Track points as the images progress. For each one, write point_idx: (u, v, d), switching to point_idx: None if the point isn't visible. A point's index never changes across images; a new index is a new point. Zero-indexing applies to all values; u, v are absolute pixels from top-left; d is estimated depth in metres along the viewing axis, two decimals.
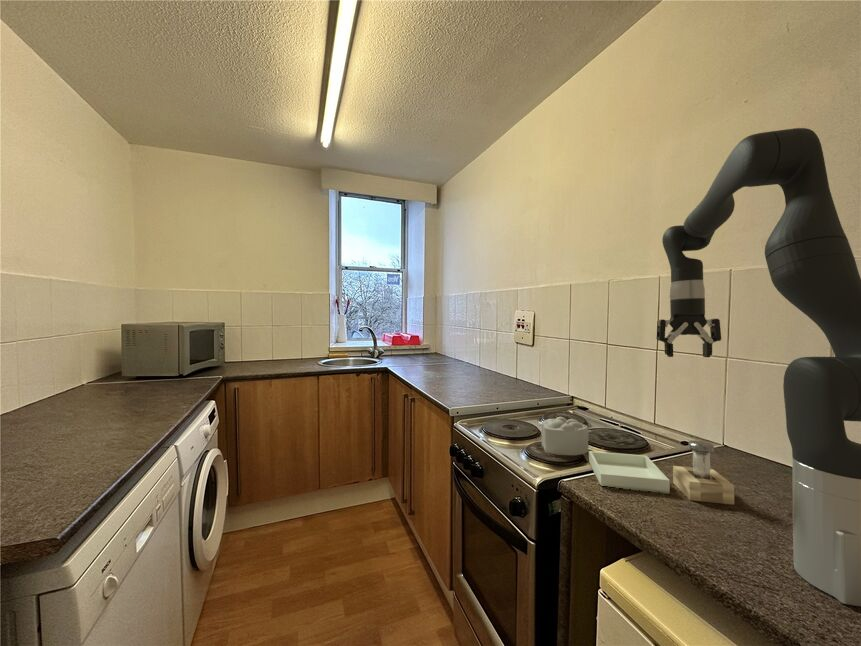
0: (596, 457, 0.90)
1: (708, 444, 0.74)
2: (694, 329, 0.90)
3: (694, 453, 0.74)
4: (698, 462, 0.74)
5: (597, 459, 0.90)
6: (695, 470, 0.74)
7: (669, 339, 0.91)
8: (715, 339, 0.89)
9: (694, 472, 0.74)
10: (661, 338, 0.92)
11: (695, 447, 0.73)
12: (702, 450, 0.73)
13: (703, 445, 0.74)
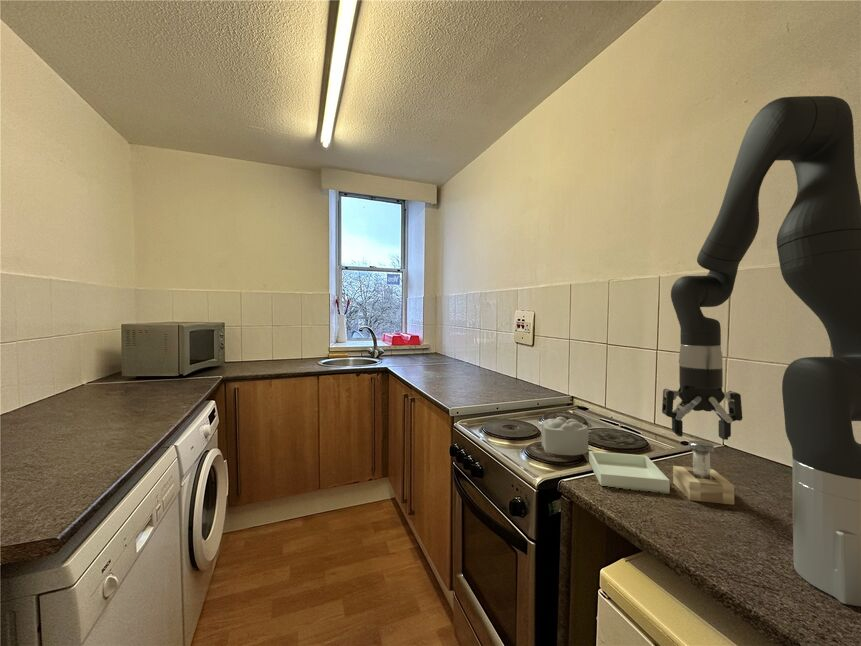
0: (596, 457, 0.90)
1: (708, 444, 0.74)
2: (709, 404, 0.73)
3: (694, 453, 0.74)
4: (698, 462, 0.74)
5: (597, 459, 0.90)
6: (695, 470, 0.74)
7: (678, 415, 0.75)
8: (735, 418, 0.72)
9: (695, 472, 0.74)
10: (668, 413, 0.75)
11: (695, 447, 0.73)
12: (702, 450, 0.73)
13: (703, 445, 0.74)
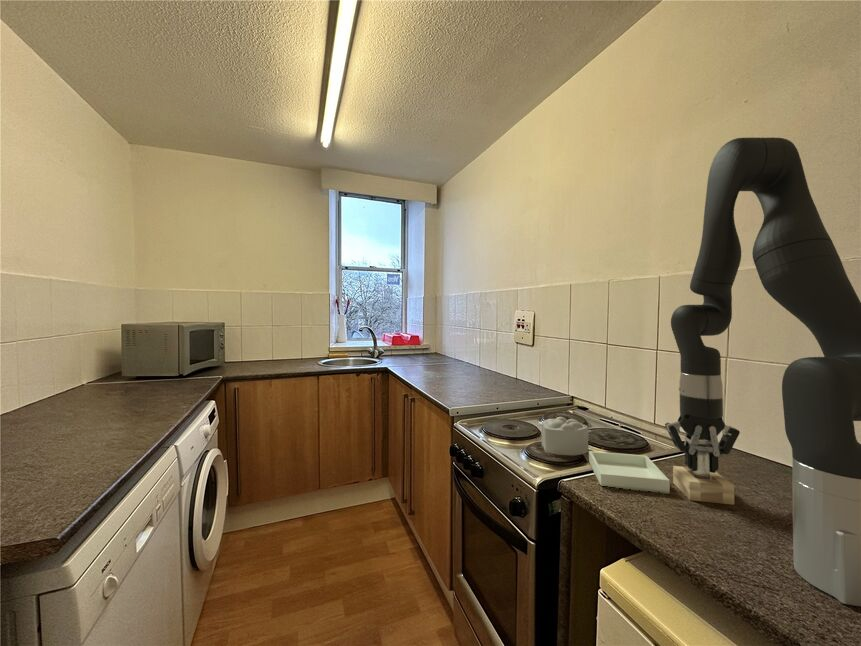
0: (596, 457, 0.90)
1: None
2: (706, 432, 0.73)
3: None
4: (698, 462, 0.74)
5: (597, 459, 0.90)
6: None
7: (691, 449, 0.74)
8: (722, 450, 0.73)
9: (694, 472, 0.74)
10: (681, 448, 0.74)
11: (695, 447, 0.73)
12: (702, 450, 0.73)
13: (703, 445, 0.74)
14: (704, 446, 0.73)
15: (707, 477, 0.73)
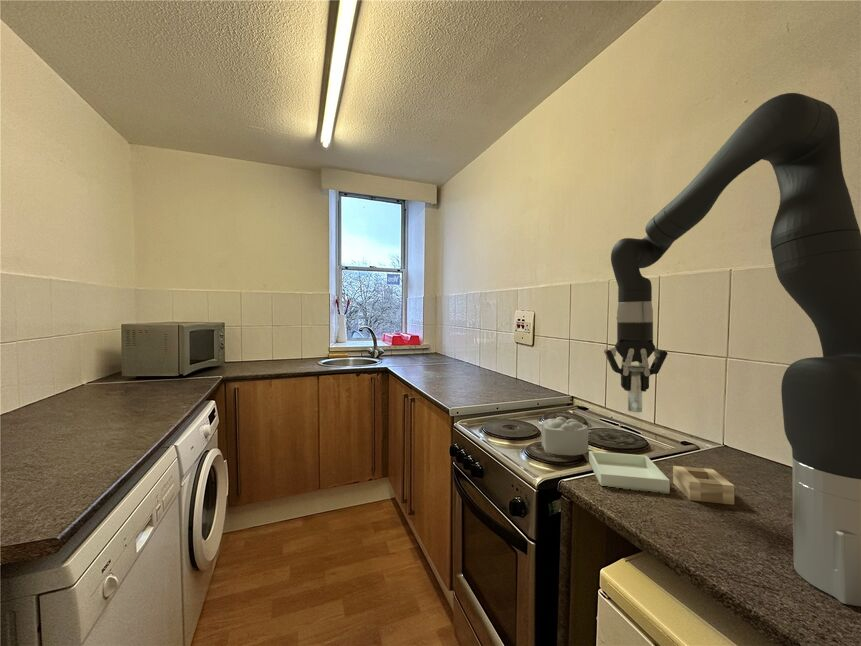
0: (596, 457, 0.90)
1: (641, 366, 0.82)
2: (638, 355, 0.81)
3: (628, 374, 0.82)
4: (631, 382, 0.81)
5: (597, 459, 0.90)
6: (629, 390, 0.82)
7: (625, 371, 0.81)
8: (652, 371, 0.80)
9: (628, 391, 0.82)
10: (616, 370, 0.82)
11: (628, 368, 0.81)
12: (634, 370, 0.80)
13: (635, 366, 0.81)
14: (636, 367, 0.80)
15: (638, 395, 0.80)
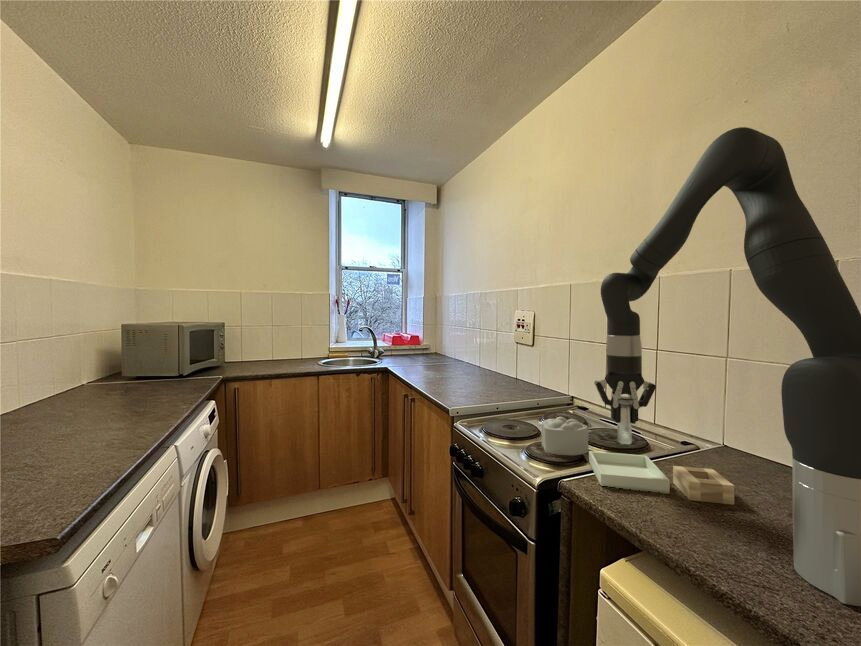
0: (596, 457, 0.90)
1: (630, 398, 0.83)
2: (627, 388, 0.82)
3: (618, 406, 0.83)
4: (621, 414, 0.82)
5: (597, 459, 0.90)
6: (619, 422, 0.83)
7: (615, 403, 0.82)
8: (641, 403, 0.81)
9: (618, 423, 0.83)
10: (606, 402, 0.83)
11: (618, 400, 0.82)
12: (623, 403, 0.81)
13: (625, 399, 0.82)
14: (625, 399, 0.81)
15: (628, 427, 0.82)
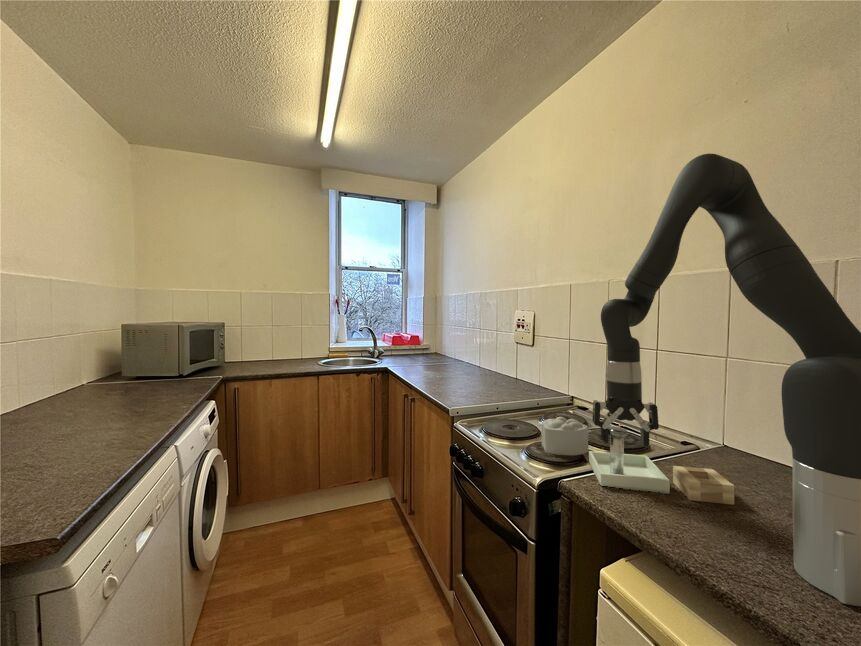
0: (596, 457, 0.90)
1: (623, 429, 0.83)
2: (630, 415, 0.82)
3: (610, 438, 0.83)
4: (613, 445, 0.83)
5: (597, 459, 0.90)
6: (611, 453, 0.83)
7: (604, 424, 0.83)
8: (652, 427, 0.80)
9: (610, 454, 0.83)
10: (596, 423, 0.83)
11: (611, 432, 0.82)
12: (616, 435, 0.82)
13: (617, 430, 0.83)
14: (618, 431, 0.82)
15: (620, 459, 0.82)
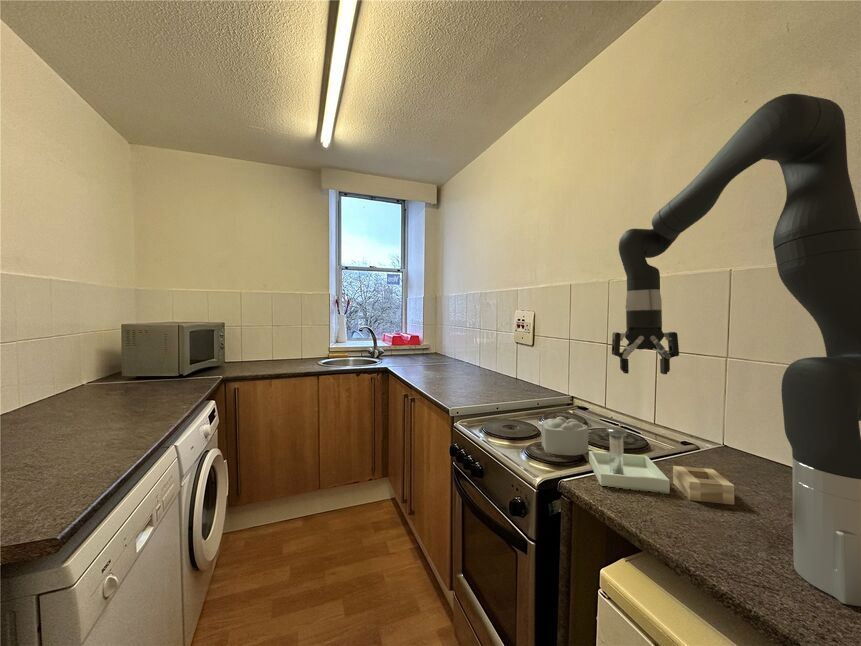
0: (596, 457, 0.90)
1: (622, 429, 0.83)
2: (650, 343, 0.82)
3: (610, 438, 0.83)
4: (613, 445, 0.83)
5: (597, 459, 0.90)
6: (611, 453, 0.83)
7: (624, 354, 0.83)
8: (673, 354, 0.81)
9: (610, 454, 0.83)
10: (616, 353, 0.84)
11: (610, 432, 0.82)
12: (615, 435, 0.82)
13: (617, 430, 0.83)
14: (617, 431, 0.82)
15: (620, 459, 0.82)
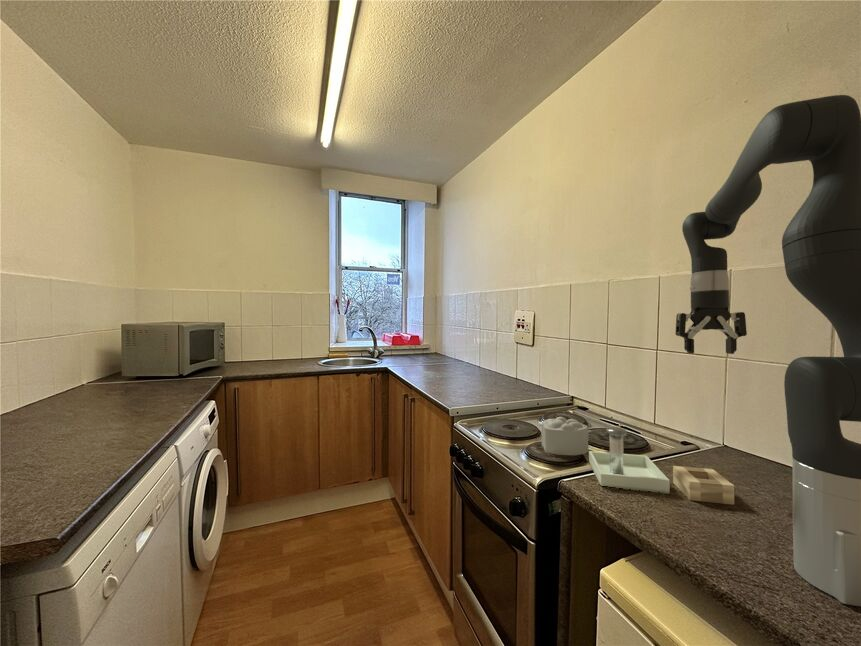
0: (596, 457, 0.90)
1: (622, 429, 0.83)
2: (717, 323, 0.83)
3: (610, 438, 0.83)
4: (613, 445, 0.83)
5: (597, 459, 0.90)
6: (611, 453, 0.83)
7: (690, 334, 0.85)
8: (740, 334, 0.82)
9: (610, 454, 0.83)
10: (681, 333, 0.85)
11: (610, 432, 0.82)
12: (615, 435, 0.82)
13: (617, 430, 0.83)
14: (617, 431, 0.82)
15: (620, 459, 0.82)
